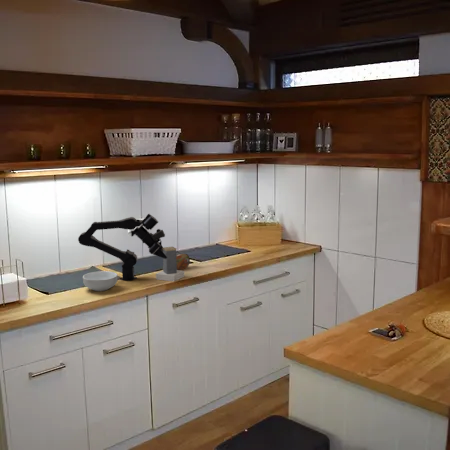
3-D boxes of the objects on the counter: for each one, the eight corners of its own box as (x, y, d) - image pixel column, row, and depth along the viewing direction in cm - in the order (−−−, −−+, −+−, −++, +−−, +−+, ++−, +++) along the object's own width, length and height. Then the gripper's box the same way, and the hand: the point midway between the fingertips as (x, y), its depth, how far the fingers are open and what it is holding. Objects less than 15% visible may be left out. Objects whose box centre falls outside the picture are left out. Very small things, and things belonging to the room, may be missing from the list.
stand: (174, 281, 285) (173, 275, 284) (155, 279, 289) (155, 273, 289) (184, 276, 295) (184, 271, 294) (166, 274, 299) (166, 269, 299)
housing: (166, 274, 288) (166, 249, 286) (162, 271, 293) (162, 247, 291) (177, 272, 290) (176, 248, 288) (173, 270, 295) (172, 246, 293)
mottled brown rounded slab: (172, 272, 304) (172, 257, 303) (168, 271, 306) (168, 256, 305) (190, 267, 316) (190, 252, 315) (186, 266, 318) (185, 252, 317)
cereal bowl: (76, 289, 272) (75, 275, 271) (104, 282, 284) (104, 269, 283) (96, 295, 260) (95, 281, 259) (124, 288, 272) (124, 274, 271)
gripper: (155, 228, 278) (177, 249, 280) (156, 222, 296) (177, 242, 299) (139, 243, 278) (162, 264, 281) (141, 236, 297) (162, 256, 299)
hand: (166, 256), depth 290 cm, fingers open, 9 cm apart
